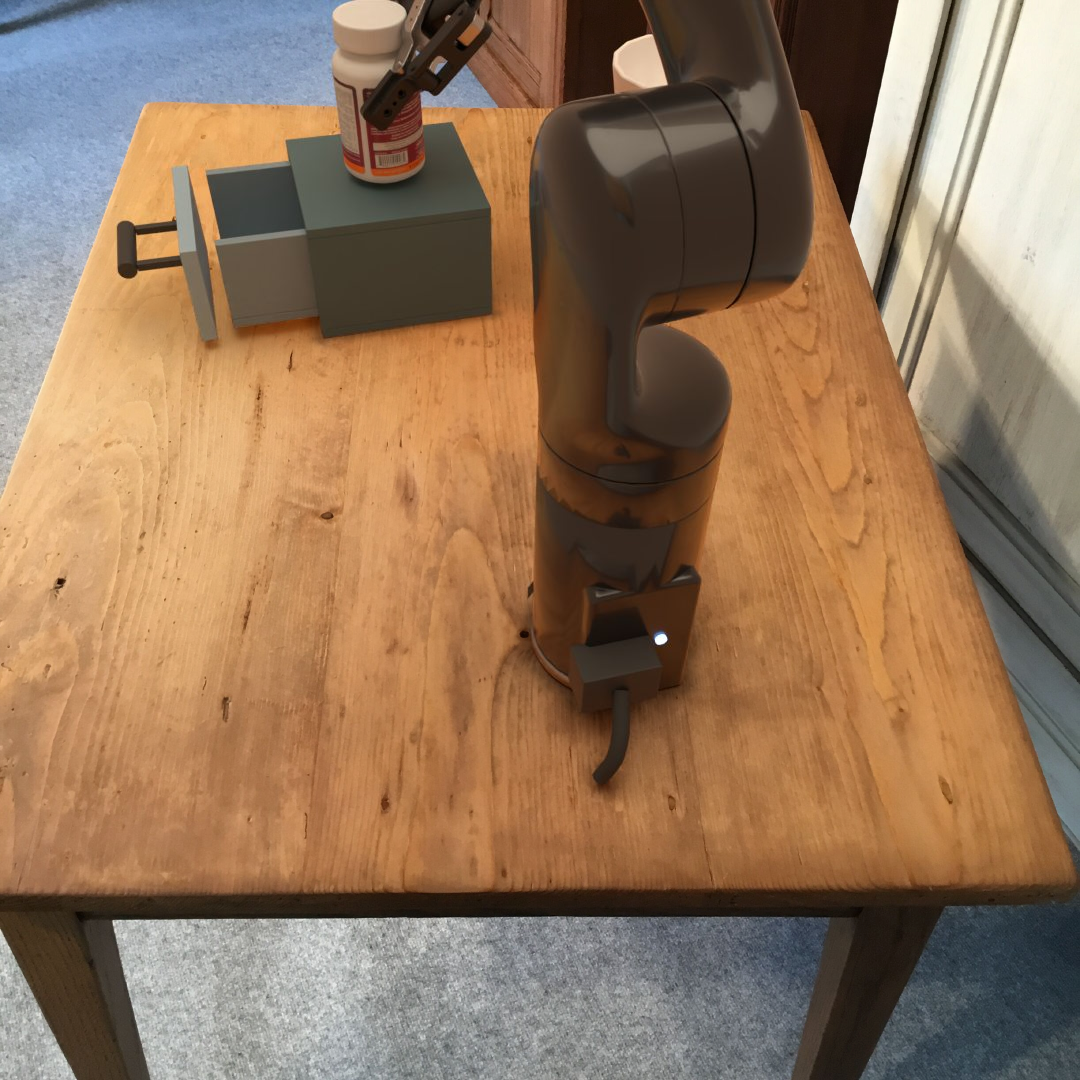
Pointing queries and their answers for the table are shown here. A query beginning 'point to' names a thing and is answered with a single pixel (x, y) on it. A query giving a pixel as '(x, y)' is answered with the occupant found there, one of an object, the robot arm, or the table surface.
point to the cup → (637, 65)
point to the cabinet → (394, 237)
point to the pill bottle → (357, 69)
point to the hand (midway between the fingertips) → (356, 101)
